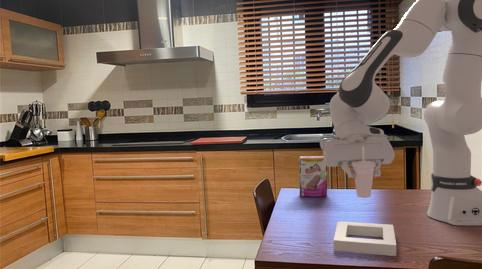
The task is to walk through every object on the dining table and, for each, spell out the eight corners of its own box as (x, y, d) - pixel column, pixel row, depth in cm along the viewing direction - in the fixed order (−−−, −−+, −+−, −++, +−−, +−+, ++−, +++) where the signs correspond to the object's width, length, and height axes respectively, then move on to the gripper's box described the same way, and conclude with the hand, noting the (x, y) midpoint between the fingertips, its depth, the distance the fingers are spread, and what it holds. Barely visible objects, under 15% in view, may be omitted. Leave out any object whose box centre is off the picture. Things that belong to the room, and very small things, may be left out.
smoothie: (375, 193, 114) (375, 145, 112) (375, 199, 108) (375, 148, 106) (352, 192, 116) (351, 145, 114) (351, 198, 110) (350, 148, 108)
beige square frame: (393, 234, 118) (393, 224, 118) (396, 256, 103) (396, 245, 103) (338, 230, 123) (338, 221, 123) (333, 250, 108) (333, 240, 108)
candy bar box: (300, 197, 162) (299, 158, 160) (299, 194, 167) (298, 156, 165) (327, 197, 161) (327, 157, 159) (326, 194, 166) (325, 155, 164)
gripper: (320, 132, 116) (330, 171, 107) (388, 129, 117) (403, 168, 109) (316, 145, 121) (326, 183, 112) (381, 142, 122) (395, 180, 114)
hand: (364, 176), depth 110 cm, fingers closed on smoothie, 6 cm apart
